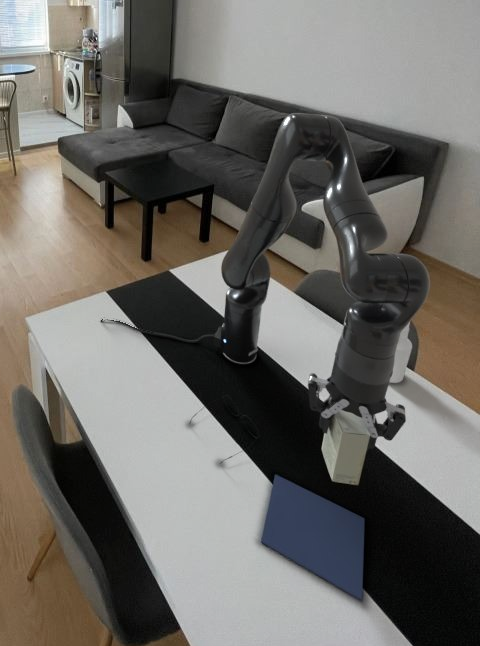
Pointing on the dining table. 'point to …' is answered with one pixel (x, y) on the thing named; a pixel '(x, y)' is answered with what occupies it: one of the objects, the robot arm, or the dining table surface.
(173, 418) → the dining table surface
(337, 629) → the dining table surface
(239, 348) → the robot arm
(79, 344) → the dining table surface
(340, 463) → the cosmetic box
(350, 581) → the cloth
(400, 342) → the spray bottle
